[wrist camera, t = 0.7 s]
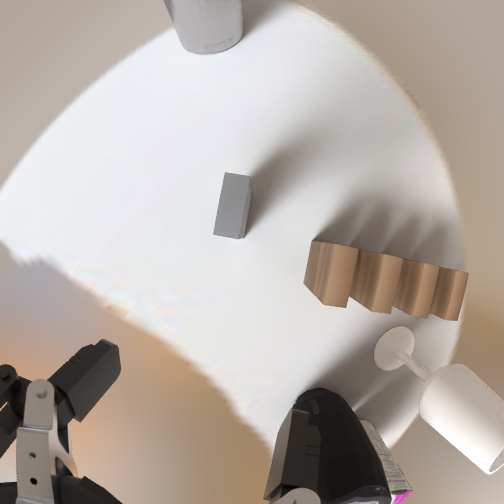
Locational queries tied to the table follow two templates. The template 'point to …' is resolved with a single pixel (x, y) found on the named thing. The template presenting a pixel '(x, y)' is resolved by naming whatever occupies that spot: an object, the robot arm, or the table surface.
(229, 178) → the grey domino
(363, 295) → the walnut domino
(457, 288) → the walnut domino
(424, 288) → the walnut domino
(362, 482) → the portable speaker
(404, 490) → the candy bar box
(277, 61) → the table surface
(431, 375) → the champagne flute
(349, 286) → the walnut domino
